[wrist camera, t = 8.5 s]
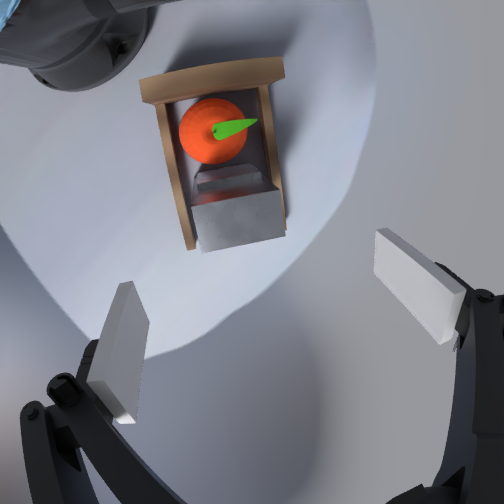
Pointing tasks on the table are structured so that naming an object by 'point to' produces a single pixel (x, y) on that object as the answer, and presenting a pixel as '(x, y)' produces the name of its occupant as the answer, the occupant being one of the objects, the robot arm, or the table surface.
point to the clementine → (213, 131)
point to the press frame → (209, 83)
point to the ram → (235, 207)
